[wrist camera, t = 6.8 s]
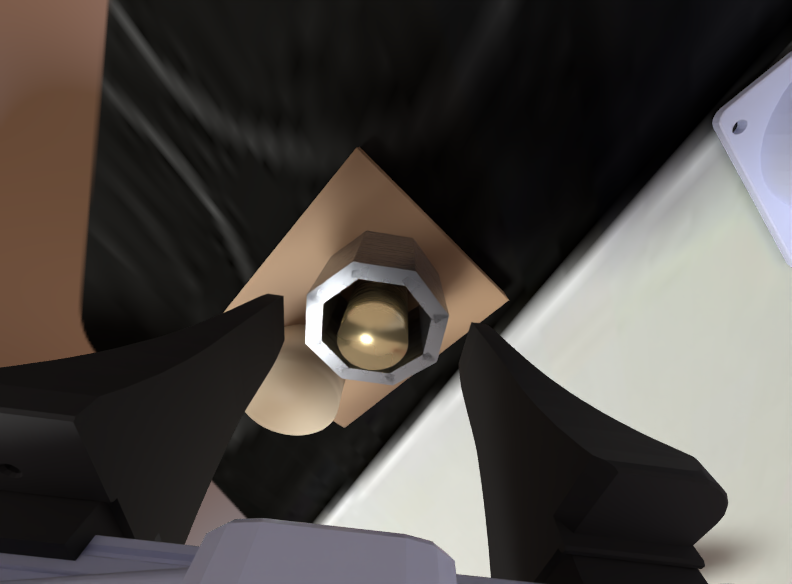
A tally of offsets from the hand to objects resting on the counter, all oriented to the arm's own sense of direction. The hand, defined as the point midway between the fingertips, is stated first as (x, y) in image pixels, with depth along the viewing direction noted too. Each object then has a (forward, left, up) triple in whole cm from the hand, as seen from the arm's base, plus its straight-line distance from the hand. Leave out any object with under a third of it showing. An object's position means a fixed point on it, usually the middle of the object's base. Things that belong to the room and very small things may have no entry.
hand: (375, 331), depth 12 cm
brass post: (0, 0, -4) cm, 4 cm away
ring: (0, 0, -4) cm, 4 cm away
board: (0, +3, -5) cm, 5 cm away
